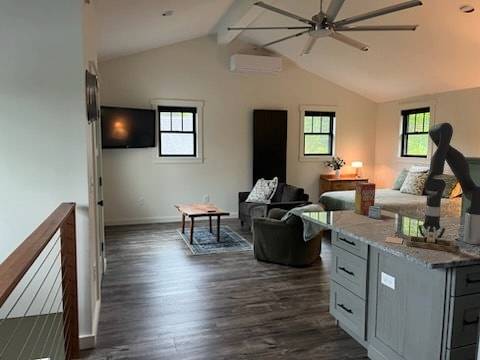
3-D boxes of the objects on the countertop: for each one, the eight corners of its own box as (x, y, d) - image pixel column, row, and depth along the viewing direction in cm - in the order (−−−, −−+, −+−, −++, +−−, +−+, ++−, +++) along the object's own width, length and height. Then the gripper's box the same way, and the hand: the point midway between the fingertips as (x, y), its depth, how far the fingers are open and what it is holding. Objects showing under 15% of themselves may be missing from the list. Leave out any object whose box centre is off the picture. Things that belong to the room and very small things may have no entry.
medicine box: (368, 217, 279) (368, 206, 278) (370, 216, 282) (371, 205, 282) (378, 219, 274) (379, 207, 273) (380, 218, 277) (381, 207, 276)
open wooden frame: (454, 245, 204) (454, 240, 204) (455, 252, 191) (456, 247, 191) (407, 239, 216) (407, 235, 215) (406, 245, 202) (406, 241, 202)
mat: (402, 239, 215) (402, 238, 215) (401, 244, 205) (401, 243, 205) (386, 237, 219) (386, 236, 219) (384, 242, 209) (384, 241, 209)
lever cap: (434, 244, 206) (435, 233, 205) (434, 247, 199) (435, 236, 199) (426, 243, 207) (427, 232, 207) (426, 246, 201) (427, 235, 201)
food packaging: (360, 214, 290) (361, 184, 287) (353, 212, 299) (355, 182, 296) (374, 214, 293) (376, 183, 291) (367, 212, 302) (369, 182, 300)
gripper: (446, 214, 202) (444, 244, 203) (418, 211, 208) (416, 240, 210) (447, 216, 195) (445, 247, 197) (418, 214, 202) (416, 243, 203)
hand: (430, 244), depth 203 cm, fingers closed on lever cap, 4 cm apart
